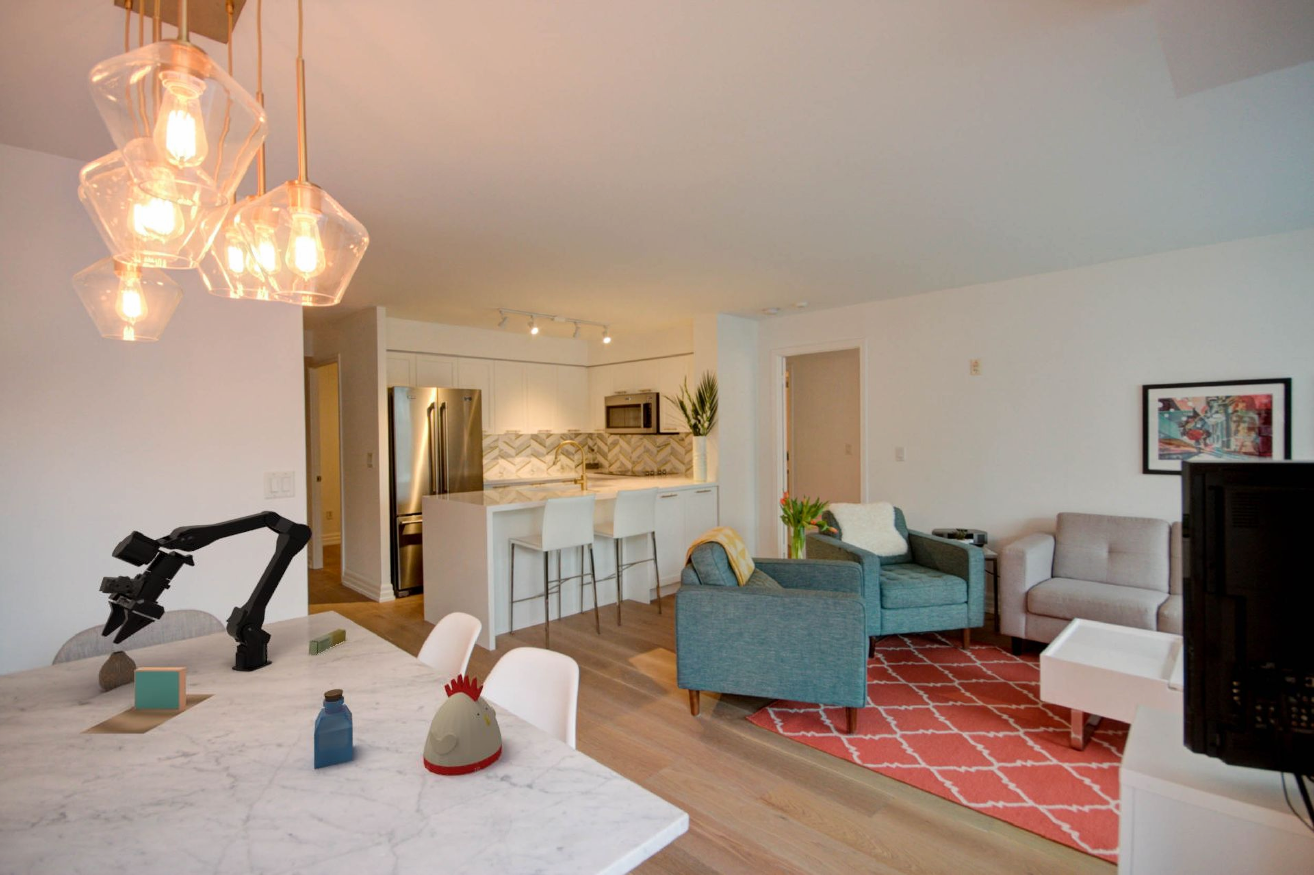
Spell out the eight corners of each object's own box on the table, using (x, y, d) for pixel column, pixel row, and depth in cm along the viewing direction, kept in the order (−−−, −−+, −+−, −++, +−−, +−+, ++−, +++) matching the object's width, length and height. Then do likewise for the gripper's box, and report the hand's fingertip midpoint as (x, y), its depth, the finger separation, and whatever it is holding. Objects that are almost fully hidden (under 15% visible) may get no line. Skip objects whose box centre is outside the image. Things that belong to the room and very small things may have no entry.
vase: (144, 683, 149) (144, 647, 150) (116, 695, 143) (116, 657, 143) (119, 682, 150) (118, 647, 150) (90, 694, 143) (90, 657, 143)
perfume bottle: (314, 769, 109) (313, 702, 109) (315, 753, 115) (315, 689, 115) (352, 760, 112) (352, 695, 112) (352, 746, 117) (351, 683, 118)
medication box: (316, 656, 169) (317, 641, 169) (308, 655, 169) (308, 641, 169) (346, 642, 180) (346, 628, 180) (338, 641, 181) (338, 628, 181)
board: (159, 700, 139) (159, 694, 139) (215, 701, 139) (215, 694, 139) (79, 740, 120) (79, 733, 120) (143, 741, 120) (143, 733, 120)
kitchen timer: (470, 782, 105) (470, 694, 105) (406, 768, 109) (406, 684, 109) (516, 744, 118) (515, 666, 118) (457, 733, 122) (457, 658, 123)
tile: (140, 706, 133) (140, 667, 133) (185, 706, 132) (185, 667, 132) (134, 710, 131) (133, 670, 131) (179, 710, 131) (179, 670, 131)
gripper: (110, 556, 145) (58, 619, 137) (134, 565, 134) (79, 634, 127) (158, 576, 152) (112, 637, 145) (185, 586, 141) (136, 652, 134)
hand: (109, 639), depth 137 cm, fingers open, 9 cm apart
